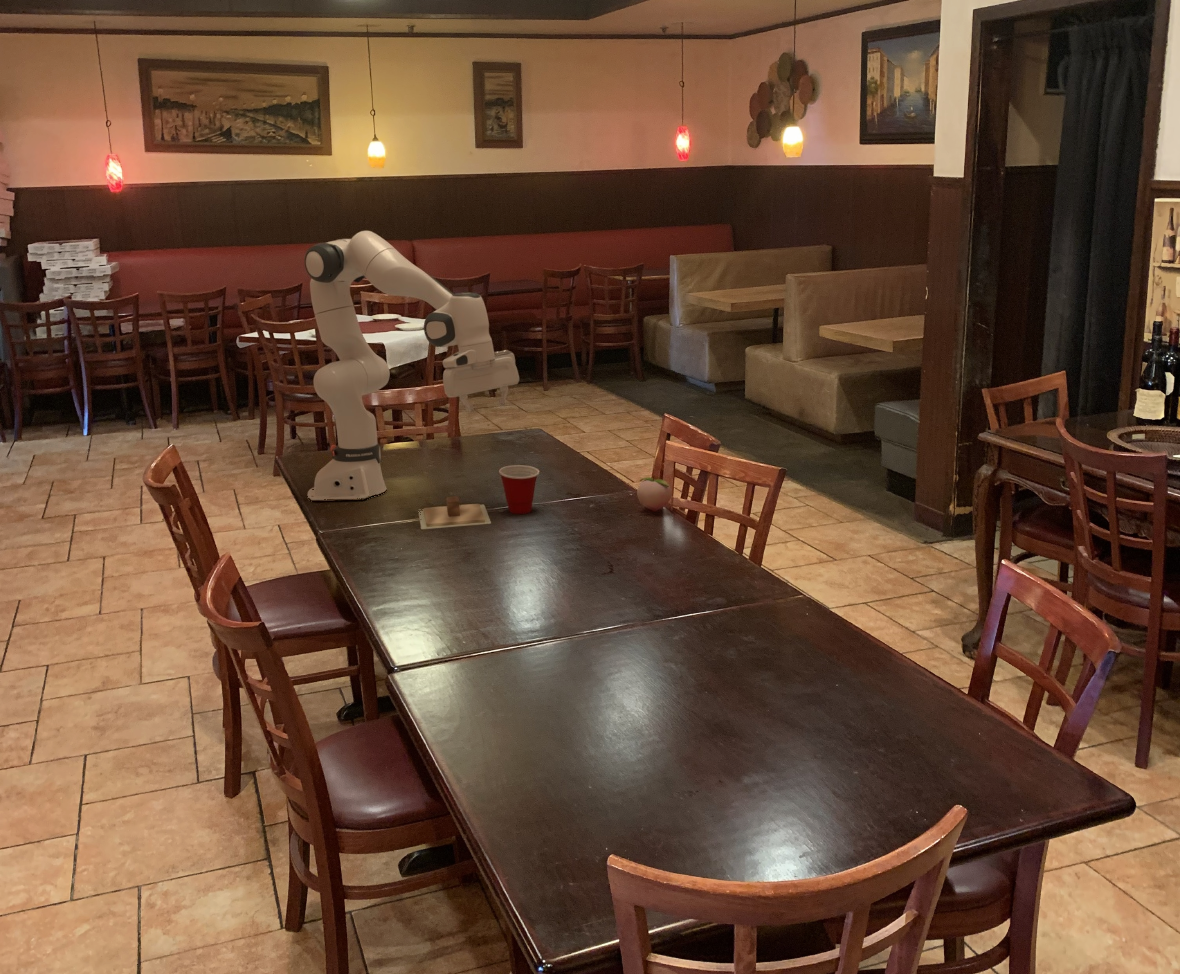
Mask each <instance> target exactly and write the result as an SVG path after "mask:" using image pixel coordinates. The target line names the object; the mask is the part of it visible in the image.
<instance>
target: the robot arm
mask: <svg viewBox="0 0 1180 974" xmlns="http://www.w3.org/2000/svg"><path fill="white" fill-rule="evenodd" d="M303 263H304V268H305V270H306V273H307V275H308V276H309V277H310V278H311V279H310V281H309V291H310V298H311V299H310V300H311V304H312V308H313V313H314V318H315V321H316V324H317V325H316V326H317V329H318V332H319V336H320V340H321V342H322V343H323V344H324V345H325V346H327V347H329V348H331V349H332V350H333V351H334V353H335V354H336V355H337V357H338V359H339V360H338V361H333V362H329V363H327V364H326V365H324V366H322V367H321V368H319V369H317V371H316V372H315V374H314V376H313V387H314V388H313V389H314V391H315V393H316V395H317V396H318V397H319V398H320V399H322V400H323V401H324V402H325V403H326V404H327V405H328V407H329V408H330V410H331V412H332V414H333V417H334V421H335V426H336V435H337V443H338V444H337V445H336V444H332V445H331V446H330V452H331V458H332V459H331V460H330V461H329V462H327V463H326V465H324V466H323V467H322V468H321V469H319V471H317V473H316V475H315V477H314V486H313V487H311V488H310V489H309V490H308V491H307V495H306V496H308V497H307V499H308V498H310V499H311V500H324V499H326V500H327V499H357V498H358V499H359V498H360V499H361V498H366V497H368V496H372V495H375V494H379V493H381V492H384V491H385V490H386V489H387V490H388V488H387V485H386V482H385V481H384V477H383V473H382V472H383V471H382V468H381V457H382V456H381V447H380V443H379V442H378V433H377V432H378V431H377V421H376V416H375V415H374V414H373V413H372V412H370V411H369V410H367V409H366V407H365V405H364V402H363V401H364V400H363V396H367V395H370V394H374V393H375V392H377V391H379V390H381V389H382V388H384V387H385V386H386V385H387V384H388V383H389V380H390V376H391V375H390V374H391V373H390V367H389V366H388V363H387V362H386V360H385V359H384V358H382V357H381V356H379V355H377V354H376V353H375V352H374V351H373V349H372V348H371V346H370V345H369V343H368V342H367V340H366V339H365V337H364V335H363V332H362V330H361V326H360V323H359V319H358V317H357V316H358V315H357V313H356V309H355V306H354V303H353V299H352V296H351V285H352V283H353V282H355V283H357V284H358V283H361V282H362V281H363V280H364V279H365V278H366V280H367V281H368V282H369V283H371V286H373V287H374V288H375V289H377V290H379V291H381V292H382V293H383V294H386V295H388V296H396V297H409V298H415V299H418V300H422V301H424V302H426V303H428V305H430V306H431V307H433V308H434V309H435V311H433V312H431V313H430V312H429V314H427V316H426V317H425V320H424V323H423V332H424V337H425V338H426V340H427V341H428V343H429V344H431V345H432V346H434V347H436V348H447V347H452V346H457V348H458V351H457V352H455V353H453V354H451V355H450V356H448V357H446V358H445V359H443V360H442V365H443V368H444V369H445V370H444V371H443V374H442V381H443V382H442V384H443V389H444V394H445V395H446V396H447V398H457V397H459V401H460V402H461V403H462V404H463V405H464V406H465V411H466V413H472V412H475V408H474V404H471V403H470V402H469V401H468V399H469V397H468V395H471V394H477V393H481V392H484V391H485V392H486V391H490V390H494V389H495V390H496V389H499V390H500V392H501V394H500V397H499V398H497V401H498V405H499V406H503V405H507V396H508V393H509V386H514V385H518V384H519V382H520V375H519V370H518V368H517V366H516V365H517V364H516V358H515V354H514V352H512V351H510V350H508V349H503V350H499V351H495V350H494V344H493V340H492V337H491V334H490V329H489V328H490V323H489V317H488V316H489V315H488V313H487V308H486V305H485V301H484V299H483V297H482V295H480V294H479V293H476V292H470V291H469V292H468V291H467V292H457V293H454V292H452V291H451V290H450V289H449V288H447V287H446V286H445V285H443V283H441V282H440V281H439V280H438V279H436V278H435V277H433V276H432V275H430V274H429V273H427V272H426V271H424V270H423V269H421V268H420V267H418V266H416V265H415V264H413V263H412V262H411V261H410V260H408V259H407V258H406V257H405V256H404V255H402V253H400V251H399V250H397V249H396V248H395V247H394V246H393V245H392V244H390V243H389V242H388V241H387V240H385V239H384V238H383V237H381V236H380V235H378V234H377V233H375V232H373V231H371V230H361V231H359V232H357V233H355V234H354V235H353V236H352V237H351V238H341V239H340V238H339V239H338V238H337V239H336V240H331V241H328V242H320V243H319V242H318V243H315V244H314V245H312V246H310V247H309V248H308V249H307V250H306V251H305V254H304V262H303ZM312 489H314V490H312Z"/></svg>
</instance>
